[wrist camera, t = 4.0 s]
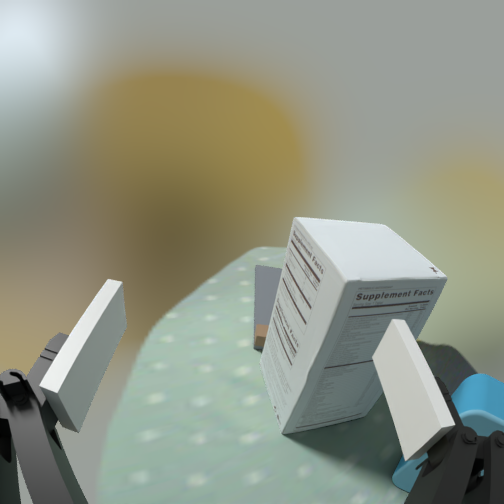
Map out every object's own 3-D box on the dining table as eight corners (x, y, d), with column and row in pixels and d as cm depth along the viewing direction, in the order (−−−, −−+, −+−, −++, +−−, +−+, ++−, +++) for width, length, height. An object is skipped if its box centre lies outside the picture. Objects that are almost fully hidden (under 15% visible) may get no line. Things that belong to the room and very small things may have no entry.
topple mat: (381, 358, 34) (388, 346, 33) (253, 348, 33) (256, 335, 32) (349, 280, 50) (353, 270, 49) (255, 267, 49) (257, 256, 48)
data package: (484, 485, 16) (565, 414, 11) (474, 519, 13) (568, 453, 8) (401, 447, 22) (473, 365, 17) (384, 482, 19) (468, 405, 14)
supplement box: (334, 355, 34) (387, 222, 26) (368, 417, 26) (453, 276, 18) (255, 363, 31) (291, 212, 24) (278, 436, 23) (347, 278, 16)
